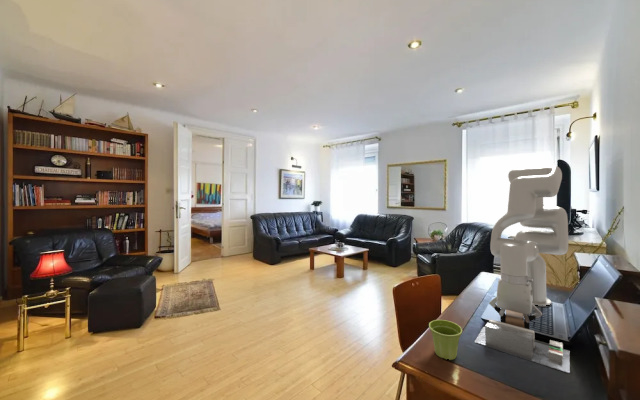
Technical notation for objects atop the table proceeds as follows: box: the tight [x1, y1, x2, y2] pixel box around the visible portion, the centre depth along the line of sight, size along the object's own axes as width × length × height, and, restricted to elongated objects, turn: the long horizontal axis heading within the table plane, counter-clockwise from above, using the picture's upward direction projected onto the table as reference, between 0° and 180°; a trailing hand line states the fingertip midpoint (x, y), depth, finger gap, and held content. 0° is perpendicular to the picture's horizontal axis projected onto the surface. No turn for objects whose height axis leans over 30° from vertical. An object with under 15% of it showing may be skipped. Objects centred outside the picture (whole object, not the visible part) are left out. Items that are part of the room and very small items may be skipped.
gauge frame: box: [474, 322, 571, 375], centre depth 83 cm, size 13×23×6 cm, turn 46°
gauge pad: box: [488, 318, 560, 349], centre depth 84 cm, size 2×18×5 cm, turn 46°
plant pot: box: [428, 319, 463, 361], centre depth 81 cm, size 9×9×9 cm
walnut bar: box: [505, 310, 524, 328], centre depth 92 cm, size 12×5×5 cm, turn 144°
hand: (514, 328), depth 92 cm, fingers closed on walnut bar, 5 cm apart
